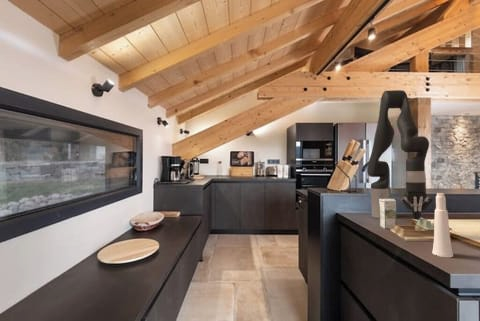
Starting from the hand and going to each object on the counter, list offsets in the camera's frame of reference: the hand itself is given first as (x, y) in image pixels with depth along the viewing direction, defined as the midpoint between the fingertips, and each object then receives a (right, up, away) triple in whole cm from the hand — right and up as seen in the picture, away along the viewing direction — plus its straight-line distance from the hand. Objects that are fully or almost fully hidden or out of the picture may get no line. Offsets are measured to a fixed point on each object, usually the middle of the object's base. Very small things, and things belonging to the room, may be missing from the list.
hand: (416, 219), depth 117 cm
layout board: (+1, -7, 0) cm, 7 cm away
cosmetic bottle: (-6, -8, -24) cm, 26 cm away
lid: (+7, -3, -1) cm, 7 cm away
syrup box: (-4, -8, +15) cm, 17 cm away
